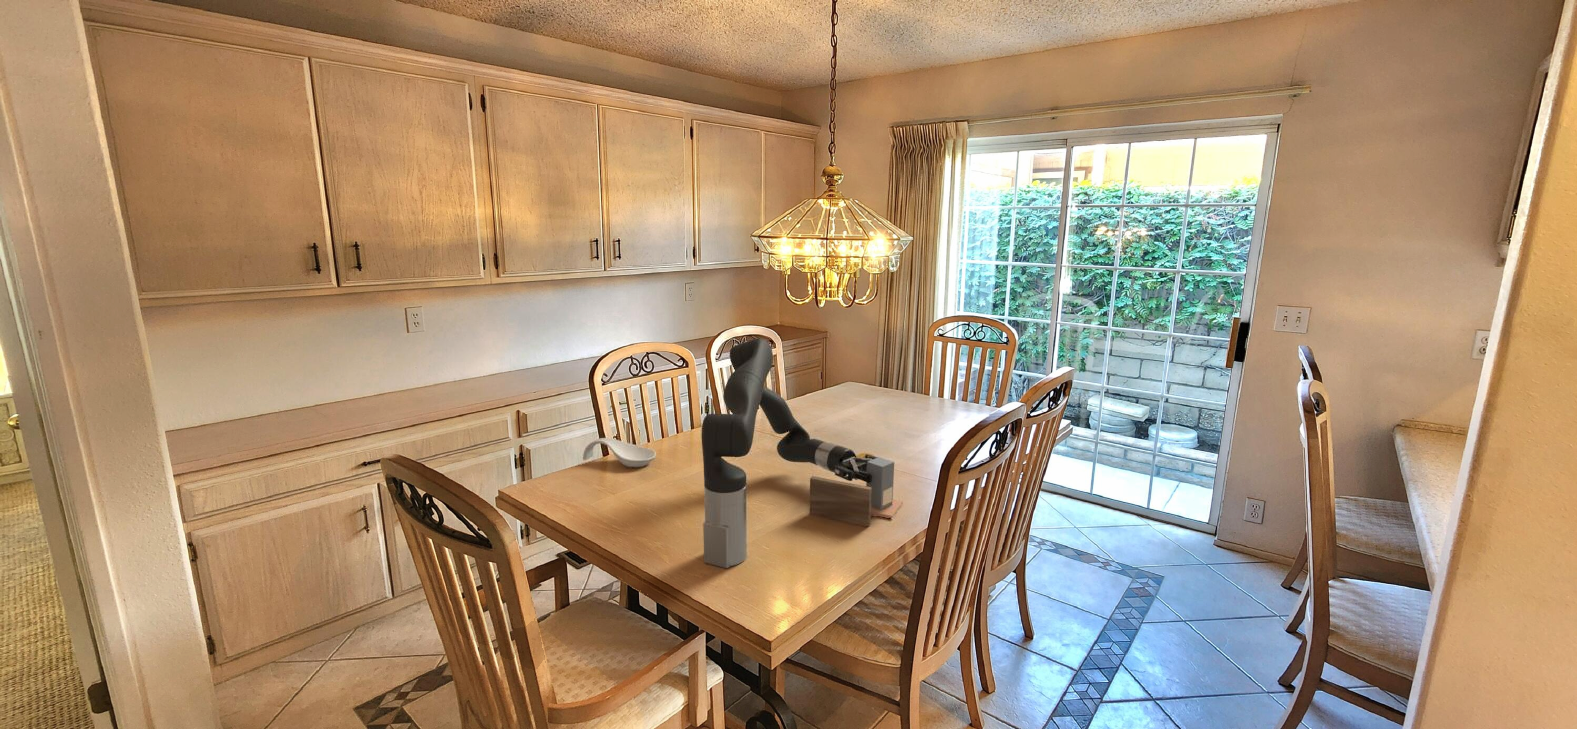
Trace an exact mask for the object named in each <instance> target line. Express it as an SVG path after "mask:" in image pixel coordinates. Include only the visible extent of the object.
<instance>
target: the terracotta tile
mask: <svg viewBox="0 0 1577 729" xmlns="http://www.w3.org/2000/svg"><path fill="white" fill-rule="evenodd" d="M902 504H904V501H903V500H900V499H899V500H898V499H893V501H892V505H891V506H889V507H887V508H885V509H883V510H878V509H876V508H873V507H871V516H872V515H876V516H875V517H877V516H881V517H880V518H882V517H887V518H893V519H894V517H895V516H896V515H897V513H898V512H897V511H898V509H899V508H900V507H901V508H902V506H903V505H902ZM901 505H902V506H901ZM901 508H900V509H901ZM900 509H899V510H900ZM896 512H897V513H896ZM895 514H896V515H895ZM894 515H895V516H894ZM893 516H894V517H893ZM887 518H886V519H887Z"/></svg>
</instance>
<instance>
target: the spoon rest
mask: <svg viewBox="0 0 1577 729" xmlns="http://www.w3.org/2000/svg"><path fill="white" fill-rule="evenodd" d="M598 444H601V445H605V446H606V447H608V448H609V450H610V451H611V452H612V453H613V455H614V456H615V458H616V459H617V460H618V461H619V462H620V464H622V465H624V466H625V467H627V468H632V467H635V468H642V467H645V466H647V465H649V464H650V463H652V461H653V460H654V459H655V458H656V457H657V452H656V451H655V450H653V449H652V448H648V447H647V446H642V445H637V444H633V443H629V442H625V441H621V440H619V439H613V438H609V437H601V438H598V439H595V440H594V441H592V442H590V443H589V444H587V445H586V447H585V448H584V451H583V453H582V454H583V455H582V459H583V461H586V460H589V459H591V458H592V457H593V456H594V448H595V446H596V445H598Z"/></svg>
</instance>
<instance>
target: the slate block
mask: <svg viewBox="0 0 1577 729" xmlns="http://www.w3.org/2000/svg"><path fill="white" fill-rule="evenodd" d="M877 457H878V458H875V459H873V460H870V461H868V462H867V472H866V473H869V474H871V475H872V481H871V482H870V483H867V482H865V485H866V486H867V487H872V495H871V507H873V508H876V509H878V510H883V509H885V508H887V507H889V506H891V505H892V501H893V496H894V479H895V477H894V476H895V474H894V473H895V461H892V460H890V459H886V458H882V457H880V456H877Z"/></svg>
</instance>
